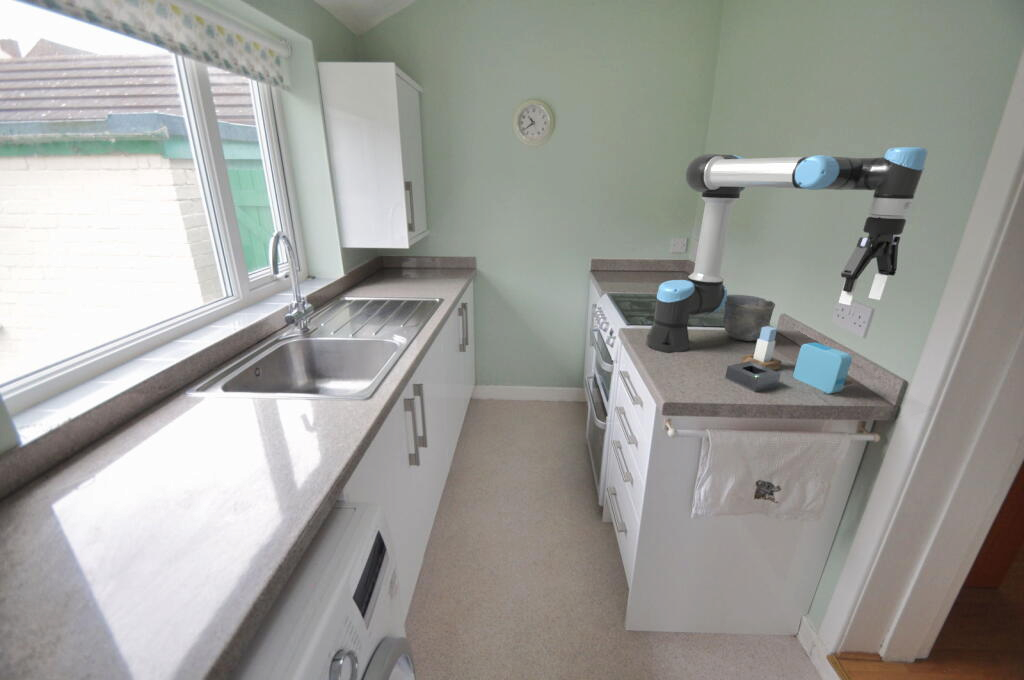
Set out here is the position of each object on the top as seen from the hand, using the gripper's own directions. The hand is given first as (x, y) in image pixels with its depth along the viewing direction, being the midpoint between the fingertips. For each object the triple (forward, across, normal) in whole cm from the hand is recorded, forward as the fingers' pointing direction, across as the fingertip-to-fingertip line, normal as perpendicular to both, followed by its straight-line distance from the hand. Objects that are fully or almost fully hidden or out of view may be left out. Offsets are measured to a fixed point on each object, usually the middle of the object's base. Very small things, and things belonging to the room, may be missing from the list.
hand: (860, 301), depth 112 cm
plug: (+28, +1, +22) cm, 35 cm away
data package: (+28, +4, +6) cm, 29 cm away
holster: (+28, +1, +22) cm, 36 cm away
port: (+28, -13, +15) cm, 35 cm away
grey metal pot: (+28, +20, +44) cm, 56 cm away
